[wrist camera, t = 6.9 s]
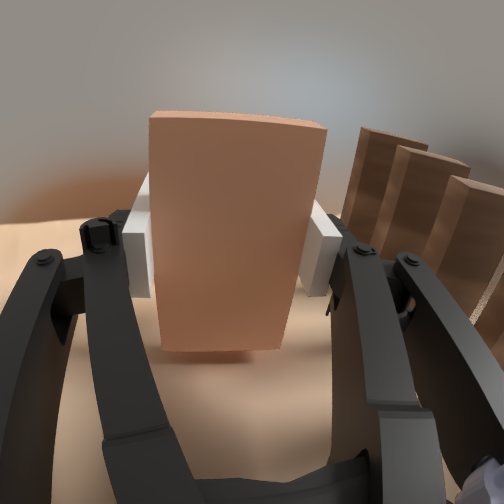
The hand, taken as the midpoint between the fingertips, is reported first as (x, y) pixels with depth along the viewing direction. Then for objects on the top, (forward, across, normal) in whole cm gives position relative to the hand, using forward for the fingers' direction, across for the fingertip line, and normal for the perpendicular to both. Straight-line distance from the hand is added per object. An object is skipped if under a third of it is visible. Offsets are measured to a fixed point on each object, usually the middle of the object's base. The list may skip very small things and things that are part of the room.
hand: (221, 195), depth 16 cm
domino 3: (+1, +14, -8) cm, 16 cm away
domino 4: (-4, +14, -8) cm, 16 cm away
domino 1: (-4, 0, -6) cm, 8 cm away
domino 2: (+7, +14, -8) cm, 17 cm away
